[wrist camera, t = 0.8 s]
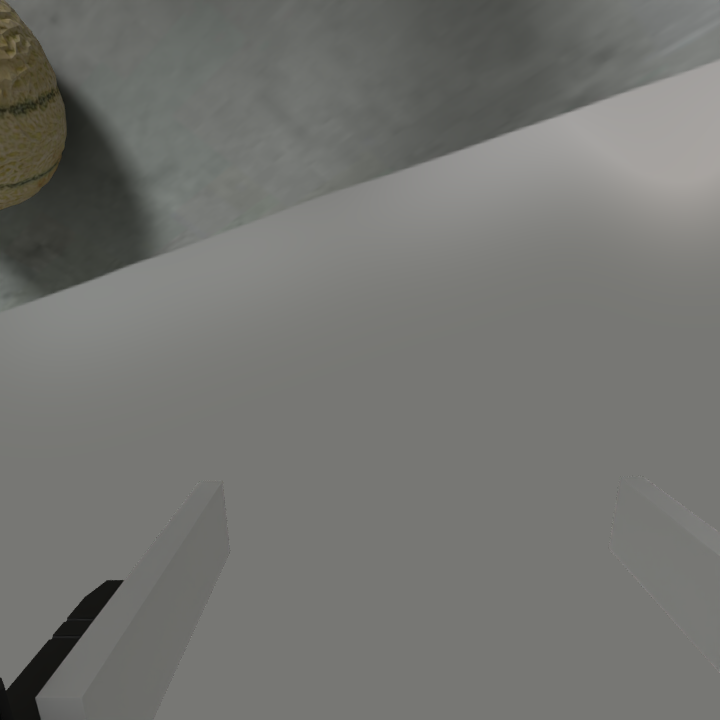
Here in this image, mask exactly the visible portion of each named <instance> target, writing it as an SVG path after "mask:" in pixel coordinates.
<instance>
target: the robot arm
mask: <svg viewBox="0 0 720 720" xmlns="http://www.w3.org/2000/svg"><path fill="white" fill-rule="evenodd" d="M609 550H610V551H611V552H612V553H613V554H614V555H615V557H616V558H617V559H618V560H619V561H620V562H621V563H622V564H623V565H624V567H625V568H626V569H627V570H628V571H629V572H630V573H631V574H632V576H633V577H634V578H635V579H636V580H637V581H638V582H639V583H640V585H641V586H643V588H644V589H645V590H646V591H647V592H648V594H649V595H650V596H651V597H652V598H653V599H654V600H655V601H656V603H657V604H658V605H659V606H660V607H661V608H662V609H663V610H664V612H665V613H666V614H667V615H668V616H669V617H670V618H671V619H672V621H673V622H674V623H675V624H676V625H677V626H678V627H679V628H680V630H681V631H682V632H683V633H684V634H685V635H686V636H687V637H688V638H689V640H690V641H691V642H692V643H693V644H694V645H695V646H696V648H697V649H698V650H699V651H700V652H701V653H702V654H703V655H704V657H706V659H707V660H708V661H709V662H710V663H711V664H712V665H713V667H714V668H715V669H716V670H717V671H718V672H719V673H720V532H718V531H717V530H715V529H714V528H713V527H711V526H710V525H709V524H707V523H706V522H704V521H703V520H702V519H701V518H699V517H698V516H696V515H695V514H694V513H692V512H691V511H689V510H688V509H687V508H686V507H684V506H683V505H681V504H680V503H678V502H677V501H676V500H675V499H673V498H672V497H670V496H669V495H668V494H666V493H665V492H663V491H662V490H661V489H660V488H658V487H657V486H655V485H654V484H653V483H651V482H650V481H648V480H647V479H646V478H644V477H643V476H642V477H641V476H640V477H620V479H619V486H618V492H617V498H616V505H615V511H614V517H613V523H612V530H611V537H610V542H609ZM229 553H230V548H229V537H228V528H227V518H226V508H225V500H224V489H223V481H199V482H198V484H197V485H196V486H195V488H194V489H193V491H192V492H191V493H190V494H189V496H188V497H187V498H186V500H185V501H184V503H183V504H182V505H181V506H180V508H179V509H178V510H177V511H176V513H175V514H174V515H173V517H172V518H171V519H170V521H169V522H168V523H167V525H166V526H165V527H164V529H163V530H162V531H161V533H160V534H159V535H158V537H157V538H156V539H155V540H154V542H153V543H152V544H151V546H150V547H149V548H148V550H147V551H146V552H145V554H144V555H143V556H142V558H141V559H140V560H139V562H138V563H137V565H136V566H135V567H134V568H133V570H132V571H131V572H130V573H129V575H128V576H127V577H126V579H125V580H107V581H106V582H104V583H103V584H102V585H101V586H99V587H98V588H96V589H95V590H94V591H92V592H91V593H90V594H89V595H87V596H86V597H85V598H84V599H83V600H82V601H81V602H80V604H79V605H78V606H77V607H76V608H75V609H74V611H73V612H72V613H71V614H70V615H69V617H68V618H67V621H66V622H64V623H63V624H62V625H61V626H60V627H59V628H58V630H57V631H56V632H55V633H54V634H53V638H52V639H51V640H48V642H47V643H46V644H45V645H44V646H43V648H42V649H41V650H40V651H39V652H38V654H37V655H36V656H35V657H34V658H33V659H32V661H31V662H30V663H29V664H28V665H27V667H26V668H25V669H24V670H23V671H22V673H21V674H20V675H19V676H18V677H17V679H16V680H15V681H14V682H13V683H12V684H11V686H10V687H9V688H8V689H7V690H5V687H4V684H3V681H2V678H0V720H153V719H154V717H155V715H156V713H157V710H158V708H159V706H160V704H161V702H162V699H163V697H164V695H165V693H166V691H167V688H168V686H169V684H170V682H171V680H172V678H173V676H174V673H175V671H176V669H177V667H178V665H179V662H180V660H181V658H182V656H183V654H184V652H185V649H186V647H187V645H188V643H189V641H190V638H191V636H192V634H193V632H194V630H195V628H196V625H197V623H198V621H199V619H200V617H201V615H202V612H203V610H204V608H205V606H206V604H207V601H208V599H209V597H210V595H211V593H212V590H213V588H214V586H215V584H216V582H217V580H218V577H219V575H220V573H221V571H222V569H223V567H224V564H225V562H226V560H227V558H228V556H229Z"/></svg>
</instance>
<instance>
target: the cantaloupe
mask: <svg viewBox="0 0 720 720" xmlns="http://www.w3.org/2000/svg"><path fill="white" fill-rule="evenodd" d="M66 136H67V125H66V116H65V106H64V103H63V100H62V97H61V94H60V92H59V89H58V87H57V83H56V75H55V73H54V71H53V69H52V67H51V65H50V63H49V62H48V60H47V58H46V55H45V53H44V51H43V49H42V47H41V45H40V43H39V41H38V40H37V39H36V37H35V36H34V35H33V34H32V31H31V30H30V29H29V28H28V27H27V26H26V25H25V24H24V22H23V21H22V20H21V19H20V17H19V16H18V15H17V13H16V12H15V10H14V9H13V8H11V7H10V6H9V5H8V4H7V3H6V2H5V1H4V0H0V210H2V209H4V208H8V207H10V206H13V205H17V204H20V203H22V202H23V201H25V200H27V199H29V198H31V197H33V196H34V195H35V194H36V193H38V192H39V191H40V189H41V188H42V187H43V186H44V185H45V184H47V183H48V182H49V180H50V179H51V177H52V176H53V173H54V172H55V171H56V170H57V167H58V164H59V162H60V160H61V158H62V151H63V150H64V148H65V140H66Z"/></svg>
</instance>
